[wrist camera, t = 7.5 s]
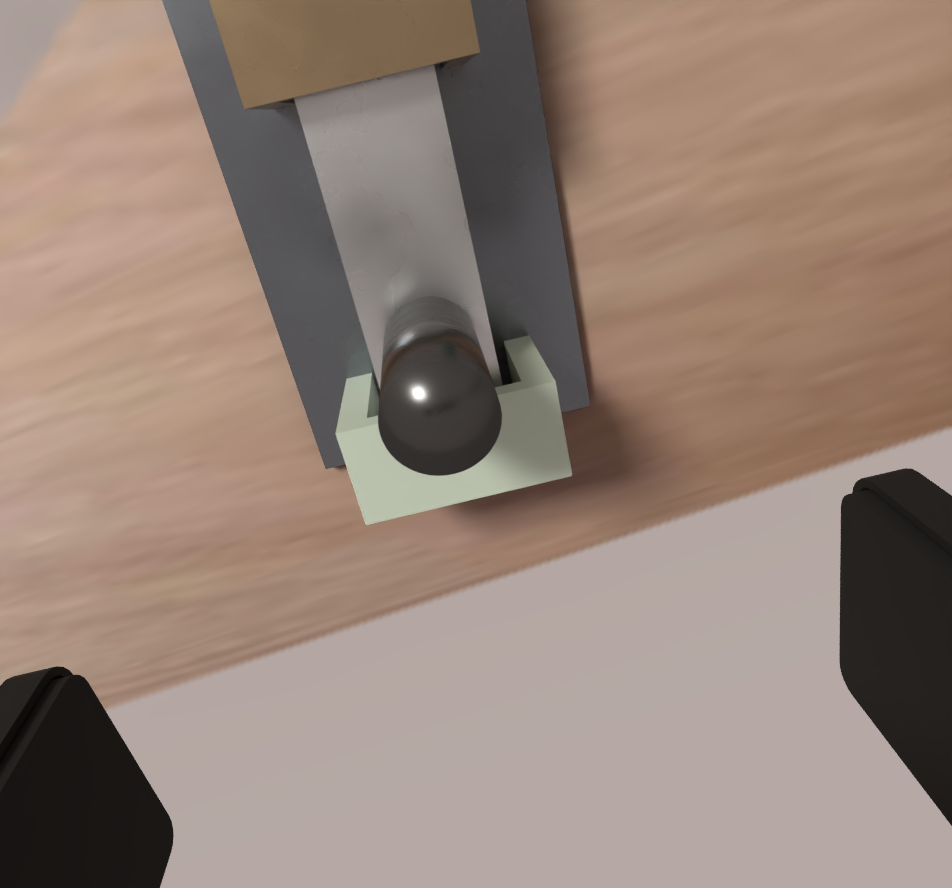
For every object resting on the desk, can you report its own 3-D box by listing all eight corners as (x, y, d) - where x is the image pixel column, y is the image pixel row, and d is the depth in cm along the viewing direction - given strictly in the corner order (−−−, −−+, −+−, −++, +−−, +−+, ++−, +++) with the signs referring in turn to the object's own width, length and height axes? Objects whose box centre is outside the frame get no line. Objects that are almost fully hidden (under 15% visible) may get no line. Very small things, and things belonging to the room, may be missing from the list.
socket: (529, 335, 28) (555, 381, 23) (544, 417, 29) (572, 475, 24) (346, 378, 28) (335, 433, 23) (371, 458, 29) (365, 525, 24)
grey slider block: (414, -11, 22) (424, -97, 13) (503, 399, 28) (552, 536, 19) (282, 20, 22) (200, -43, 13) (399, 423, 28) (398, 572, 19)
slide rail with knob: (476, -287, 20) (501, -418, 15) (586, 400, 30) (625, 460, 24) (99, -195, 20) (0, -296, 15) (327, 462, 30) (311, 534, 25)
